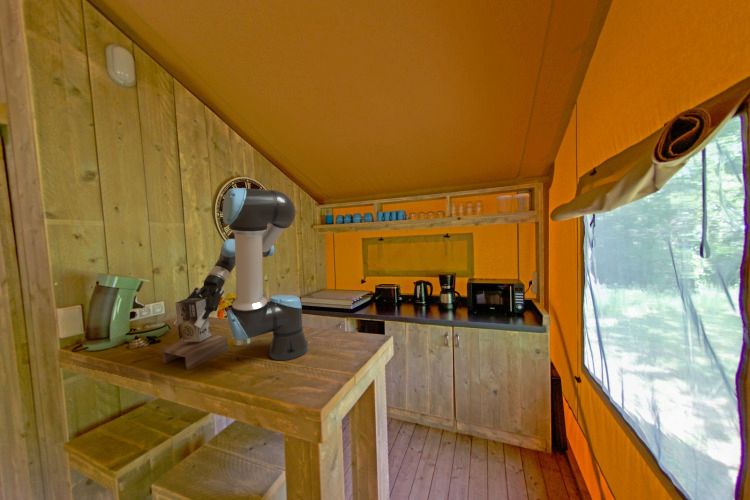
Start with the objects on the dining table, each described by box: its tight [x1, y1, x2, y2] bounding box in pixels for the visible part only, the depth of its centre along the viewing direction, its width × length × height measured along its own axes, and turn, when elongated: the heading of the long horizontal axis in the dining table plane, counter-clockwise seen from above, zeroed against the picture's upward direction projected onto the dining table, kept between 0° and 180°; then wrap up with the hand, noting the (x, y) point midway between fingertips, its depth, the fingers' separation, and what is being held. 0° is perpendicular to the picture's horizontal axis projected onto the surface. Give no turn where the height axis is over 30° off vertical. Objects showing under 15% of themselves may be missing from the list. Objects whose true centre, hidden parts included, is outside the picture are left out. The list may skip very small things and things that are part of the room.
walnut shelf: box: [161, 333, 229, 371], centre depth 106 cm, size 16×16×6 cm
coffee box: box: [174, 298, 212, 342], centre depth 105 cm, size 9×6×16 cm
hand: (186, 325), depth 102 cm, fingers closed on coffee box, 10 cm apart
